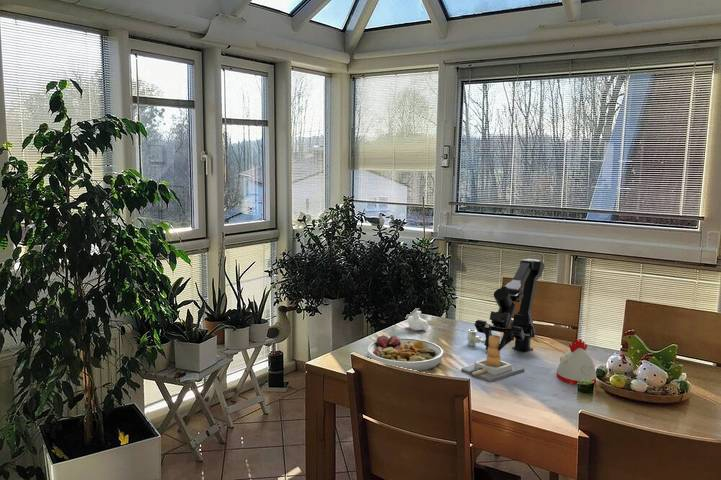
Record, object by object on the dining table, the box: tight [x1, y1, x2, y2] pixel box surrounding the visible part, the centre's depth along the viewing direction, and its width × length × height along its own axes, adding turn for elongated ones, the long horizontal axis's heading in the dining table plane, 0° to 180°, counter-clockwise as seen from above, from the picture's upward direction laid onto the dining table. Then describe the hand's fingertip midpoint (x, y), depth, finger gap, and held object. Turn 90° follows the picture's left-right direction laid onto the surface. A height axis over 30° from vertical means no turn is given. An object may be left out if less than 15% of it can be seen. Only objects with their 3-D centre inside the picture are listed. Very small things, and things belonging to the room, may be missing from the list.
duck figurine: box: [406, 309, 429, 331], centre depth 282 cm, size 12×8×11 cm
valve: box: [466, 328, 488, 351], centre depth 258 cm, size 7×7×12 cm
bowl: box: [367, 334, 444, 372], centre depth 240 cm, size 30×30×8 cm
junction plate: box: [460, 358, 525, 383], centre depth 230 cm, size 21×14×3 cm, turn 127°
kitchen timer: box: [556, 338, 597, 386], centre depth 223 cm, size 14×14×15 cm
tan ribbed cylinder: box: [485, 334, 501, 367], centre depth 229 cm, size 5×5×11 cm
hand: (492, 348), depth 228 cm, fingers closed on tan ribbed cylinder, 5 cm apart
